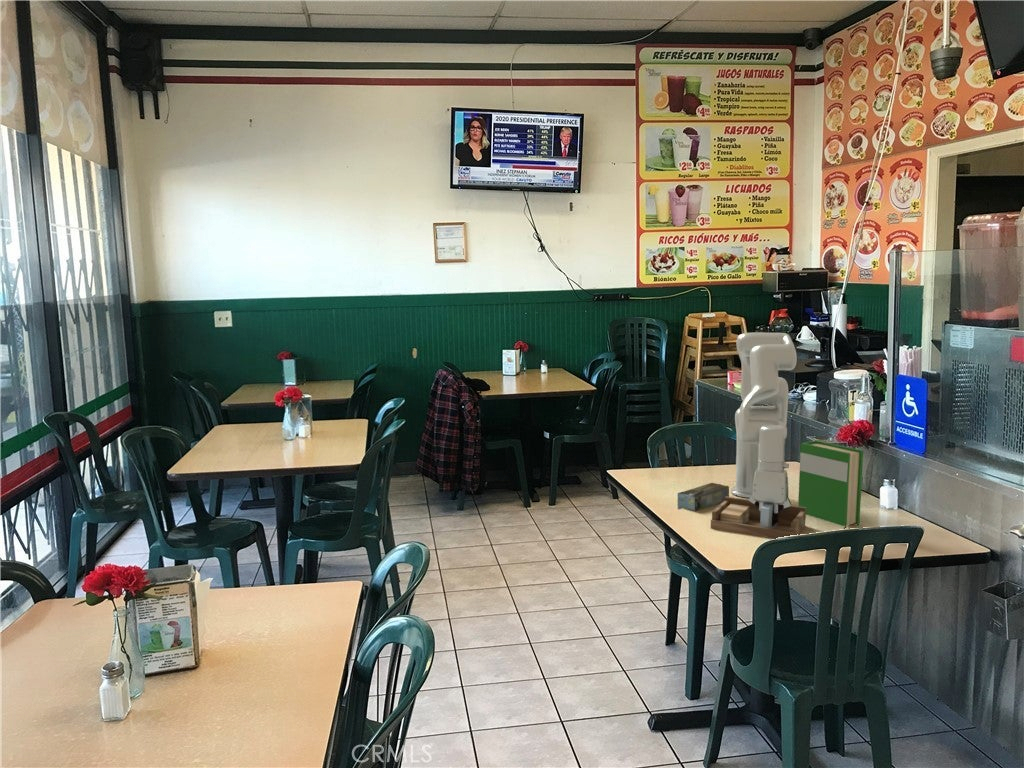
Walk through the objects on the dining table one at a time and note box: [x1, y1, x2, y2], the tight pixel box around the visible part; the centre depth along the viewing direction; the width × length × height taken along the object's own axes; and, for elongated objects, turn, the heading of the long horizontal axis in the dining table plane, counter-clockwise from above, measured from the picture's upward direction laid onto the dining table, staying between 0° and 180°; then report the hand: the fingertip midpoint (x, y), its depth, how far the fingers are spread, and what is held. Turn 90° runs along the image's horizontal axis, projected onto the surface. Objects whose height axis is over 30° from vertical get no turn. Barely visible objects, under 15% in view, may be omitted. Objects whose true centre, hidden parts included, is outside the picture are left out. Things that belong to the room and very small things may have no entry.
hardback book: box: [797, 440, 864, 529], centre depth 268 cm, size 18×7×24 cm, turn 32°
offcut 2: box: [720, 512, 749, 524], centre depth 264 cm, size 11×6×2 cm, turn 150°
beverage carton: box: [676, 482, 730, 512], centre depth 286 cm, size 8×19×7 cm, turn 129°
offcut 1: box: [721, 504, 750, 520], centre depth 263 cm, size 11×6×2 cm, turn 150°
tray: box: [710, 496, 807, 539], centre depth 260 cm, size 16×25×7 cm, turn 60°
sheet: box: [760, 502, 777, 528], centre depth 258 cm, size 12×2×8 cm, turn 150°
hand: (768, 523), depth 258 cm, fingers closed on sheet, 2 cm apart
